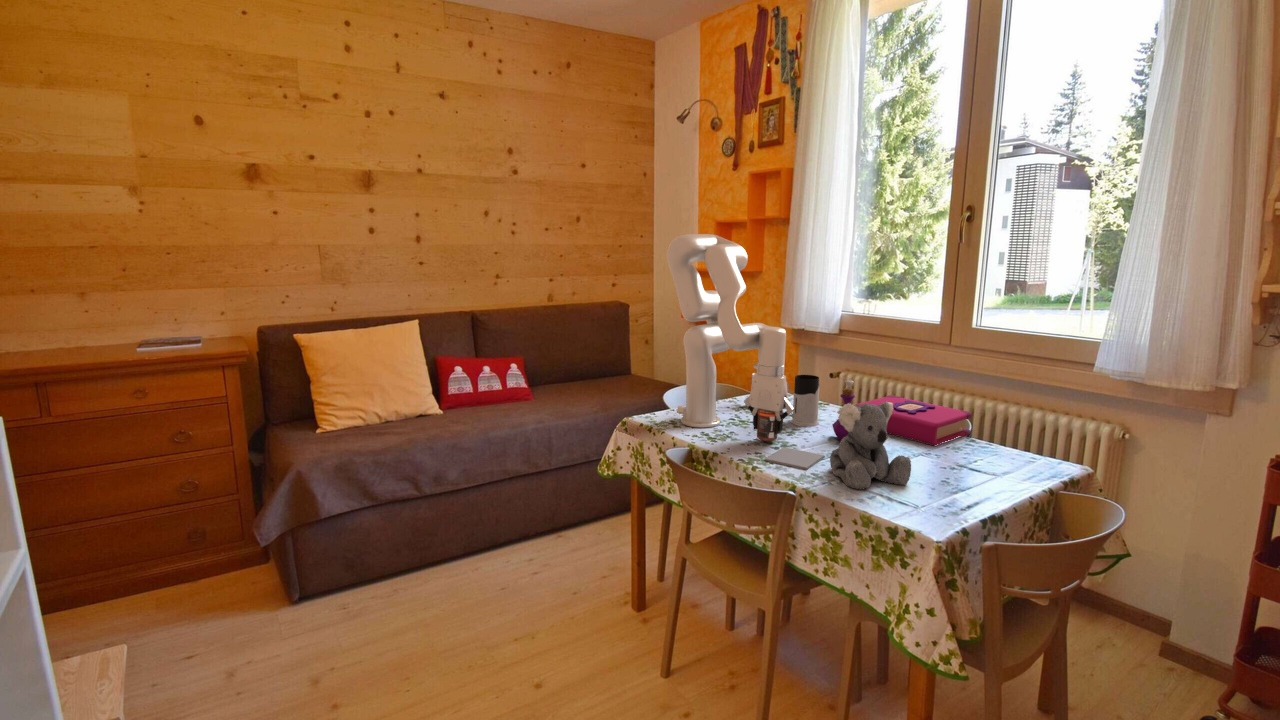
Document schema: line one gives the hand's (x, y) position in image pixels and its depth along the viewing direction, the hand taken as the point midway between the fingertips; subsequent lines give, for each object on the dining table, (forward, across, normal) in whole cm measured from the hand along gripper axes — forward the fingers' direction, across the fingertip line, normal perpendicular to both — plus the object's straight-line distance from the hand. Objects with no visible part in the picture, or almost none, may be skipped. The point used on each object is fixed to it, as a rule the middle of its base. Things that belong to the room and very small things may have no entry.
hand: (767, 429), depth 194 cm
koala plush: (+3, +32, -11) cm, 34 cm away
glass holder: (+4, -1, +24) cm, 24 cm away
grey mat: (+3, +13, -9) cm, 16 cm away
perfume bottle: (+3, +18, +16) cm, 24 cm away
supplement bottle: (+3, 0, 0) cm, 3 cm away
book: (+4, +30, +38) cm, 49 cm away
